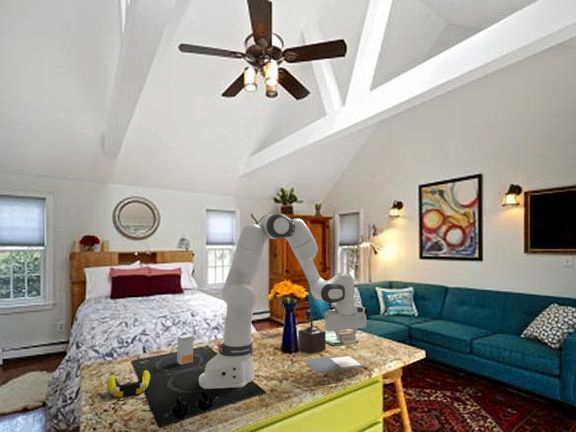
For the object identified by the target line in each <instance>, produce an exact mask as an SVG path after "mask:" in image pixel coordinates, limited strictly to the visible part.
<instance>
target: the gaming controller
mask: <svg viewBox="0 0 576 432" xmlns="http://www.w3.org/2000/svg"><path fill="white" fill-rule="evenodd" d="M150 381H151V374H150V372H149V370H147V369H146V370H144V371H142V373H141V375H140V377H139V380H137V381H133V382H128V383H122V384H121V383H119V382H118V380H117V379H116V377H115V375H111V376H109V377H108V378H107V381H106V388H107V390H108V392H109V393H110V395H111V396H113V397H116V398H122V397H127V396H133V395H138V394H141V393H143V392H145V391H146V390H147V388H148V387H149V385H150Z"/></svg>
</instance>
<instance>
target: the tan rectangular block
mask: <svg viewBox="0 0 576 432" xmlns="http://www.w3.org/2000/svg"><path fill="white" fill-rule="evenodd" d="M338 334H339V335H340V336H341V340H338V341H340V342H341V343H343V344H344V345H343V346H349V345H356V344H357V343H356V338H357V335H356V334H355V335H354V334H352V332H350V331H349V330H348V329H347V330H340V331H339V333H338ZM336 339H337V335H336Z"/></svg>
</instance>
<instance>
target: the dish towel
mask: <svg viewBox="0 0 576 432" xmlns="http://www.w3.org/2000/svg"><path fill="white" fill-rule="evenodd" d="M324 331H325V333H326V344H328V345H331V346H345V345H344V344H343V343H341V342H340V341H338V340H337V339H336V334H335V332H334V331H327V330H324ZM339 331H341V330H339ZM359 341H360V340H359V338H357V337H356V344H358V343H359V344H360V342H359Z"/></svg>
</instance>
